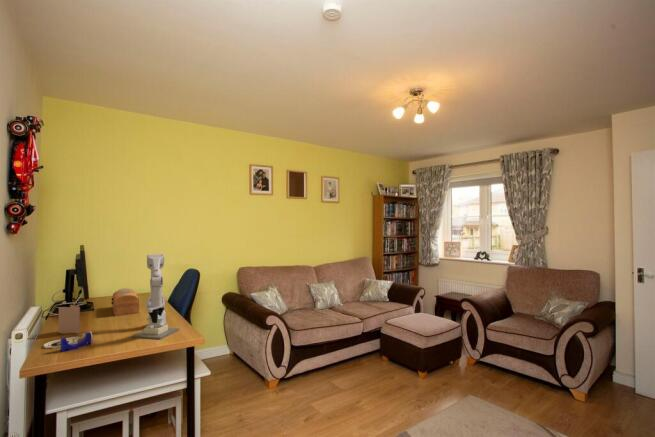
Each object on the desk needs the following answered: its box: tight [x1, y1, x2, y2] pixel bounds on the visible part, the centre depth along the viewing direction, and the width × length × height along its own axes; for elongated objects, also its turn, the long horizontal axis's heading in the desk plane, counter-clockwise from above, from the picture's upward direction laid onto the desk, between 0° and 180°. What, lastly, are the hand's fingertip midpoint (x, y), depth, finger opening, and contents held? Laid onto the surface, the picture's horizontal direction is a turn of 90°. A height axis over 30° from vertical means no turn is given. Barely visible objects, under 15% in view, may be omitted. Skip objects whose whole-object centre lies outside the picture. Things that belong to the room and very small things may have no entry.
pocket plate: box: [131, 324, 180, 340], centre depth 188 cm, size 16×18×4 cm
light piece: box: [43, 331, 93, 349], centre depth 174 cm, size 12×3×20 cm
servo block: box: [146, 315, 165, 326], centre depth 188 cm, size 3×9×6 cm, turn 89°
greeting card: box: [58, 304, 81, 334], centre depth 191 cm, size 11×7×15 cm, turn 59°
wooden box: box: [110, 287, 140, 317], centre depth 241 cm, size 30×16×14 cm, turn 34°
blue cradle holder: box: [60, 331, 92, 353], centre depth 167 cm, size 12×4×6 cm, turn 142°
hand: (156, 322), depth 188 cm, fingers closed on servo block, 3 cm apart
